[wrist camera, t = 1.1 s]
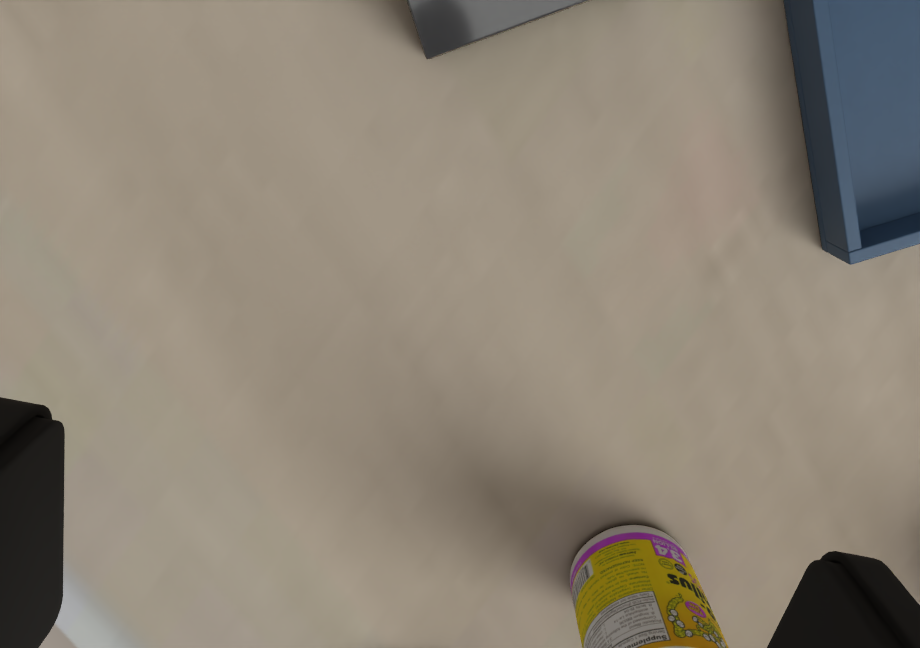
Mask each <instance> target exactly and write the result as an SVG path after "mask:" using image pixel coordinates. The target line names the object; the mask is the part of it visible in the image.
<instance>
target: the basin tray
mask: <svg viewBox="0 0 920 648" xmlns="http://www.w3.org/2000/svg"><path fill="white" fill-rule="evenodd" d="M784 6H785V12H786V19H787V25H788V32H789V38H790V44H791V51H792V57H793V64H794V70H795V76H796V83H797V89H798V96H799V102H800V108H801V115H802V121H803V128H804V134H805V141H806V147H807V153H808V160H809V166H810V173H811V179H812V185H813V192H814V198H815V205H816V211H817V217H818V224H819V230H820V237H821V243H822V249H823V250H824V251H826V252H828V253H830V254H831V255H833V256H835V257H837V258H839V259H841V260H842V261H844V262H846V263H848V264H855V263H858V262H861V261H864V260H868V259H871V258H874V257H878V256H881V255H884V254H887V253H891V252H894V251H897V250H900V249H904V248H907V247H910V246H914V245H917V244H920V0H784Z"/></svg>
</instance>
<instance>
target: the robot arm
mask: <svg viewBox="0 0 920 648" xmlns="http://www.w3.org/2000/svg"><path fill="white" fill-rule="evenodd" d="M64 437H65V434H64V427H63V424H62V423H61V422H59V421H56V420H52V415H51V413H50V410H49V408H47V407H46V406H44V405H39V404H33V403H28V402H22V401H17V400H12V399H6V398H1V397H0V648H38V647H39V646H40V645H41V643H42V642H43V640H44V639H45V638H46V636H47V635H48V633H49V632H50V630H51V628H52V627H53V625H54V623H55V621H56V619H57V617H58V614H59V611H60V608H61V604H62V597H63V528H64ZM767 648H920V605H919V604H918V603H917V602H916V600H915V599H914V598H913V597H912V596H911V594H910V593H909V592H908V591H907V590H906V588H905V587H904V586H903V585H902V584H901V582H900V581H899V580H898V579H897V577H896V576H895V575H894V574H893V573H892V571H891V570H890V569H889V568H888V567H887V566H886V565H885V564H884V563H883V562H882V561H880V560H877V559H874V558H869V557H864V556H859V555H853V554H848V553H842V552H837V551H833V552H828V553H826V554H825V555H824V556H822V558H821V559H820V560H815V561H813V562H812V563H810V565H809V566H808V568H807V569H806V571H805V573H804V575H803V577H802V579H801V581H800V583H799V585H798V587H797V589H796V591H795V593H794V595H793V597H792V599H791V601H790V603H789V605H788V607H787V609H786V611H785V613H784V615H783V617H782V619H781V621H780V623H779V625H778V627H777V629H776V631H775V633H774V635H773V637H772V639H771V641H770V643H769V645H768V647H767Z"/></svg>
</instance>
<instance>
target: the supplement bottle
mask: <svg viewBox="0 0 920 648" xmlns="http://www.w3.org/2000/svg"><path fill="white" fill-rule="evenodd" d="M570 587H571V593H572V599H573V604H574V608H575V613H576V618H577V623H578V628H579V633H580V638H581V643H582V647H583V648H728V645H727V643H726V641H725V639H724V637H723V634H722V632H721V629H720V627H719V625H718V623H717V621H716V619H715V616H714V614H713V612H712V610H711V608H710V605H709V603H708V601H707V598H706V596H705V594H704V592H703V590H702V587H701V585H700V583H699V581H698V578H697V576H696V574H695V572H694V570H693V567H692V565H691V563H690V561H689V559H688V557H687V555H686V553H685V551H684V550H683V548H682V547H681V546H680V545H679V544H678V543H677V542H676V541H675V540H674V539H673V538H672V537H670V536H669V535H667V534H666V533H664V532H662V531H660V530H657V529H654V528H651V527H647V526H642V525H626V526H619V527H614V528H611V529H608V530H606V531H604V532H602V533H600V534H598V535H596V536H595V537H593V538H592V539H591V540H589V541H588V542H587V543H586V544H585V545H584V546H583V547H582V548H581V549H580V551H579V552H578V553H577V555H576V557H575V559H574V561H573V564H572V567H571V572H570Z"/></svg>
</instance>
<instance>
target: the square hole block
mask: <svg viewBox="0 0 920 648" xmlns="http://www.w3.org/2000/svg"><path fill="white" fill-rule="evenodd" d="M588 1H591V0H407V3H408V6H409V9H410V12H411V15H412V18H413V21H414V24H415V27H416V30H417V33H418V36H419V39H420V42H421V45H422V48H423V51H424V54H425V57H426V58H427V59H432V58H435V57H437V56H440V55H443V54H446V53H448V52H451V51H454V50H456V49H459V48H462V47H465V46H467V45H470V44H473V43H476V42H478V41H481V40H484V39H487V38H489V37H492V36H495V35H498V34H500V33H503V32H506V31H508V30H511V29H514V28H517V27H519V26H522V25H525V24H528V23H530V22H533V21H536V20H539V19H541V18H544V17H547V16H550V15H552V14H555V13H558V12H560V11H563V10H566V9H569V8H571V7H574V6H577V5H580V4H582V3H585V2H588Z"/></svg>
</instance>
